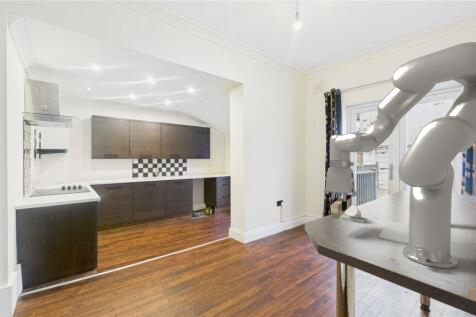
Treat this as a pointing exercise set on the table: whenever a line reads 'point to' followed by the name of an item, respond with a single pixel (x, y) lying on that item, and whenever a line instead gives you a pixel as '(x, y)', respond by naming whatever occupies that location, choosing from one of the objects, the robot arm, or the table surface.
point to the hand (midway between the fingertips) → (339, 209)
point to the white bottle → (353, 212)
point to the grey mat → (396, 232)
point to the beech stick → (339, 207)
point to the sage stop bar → (353, 219)
